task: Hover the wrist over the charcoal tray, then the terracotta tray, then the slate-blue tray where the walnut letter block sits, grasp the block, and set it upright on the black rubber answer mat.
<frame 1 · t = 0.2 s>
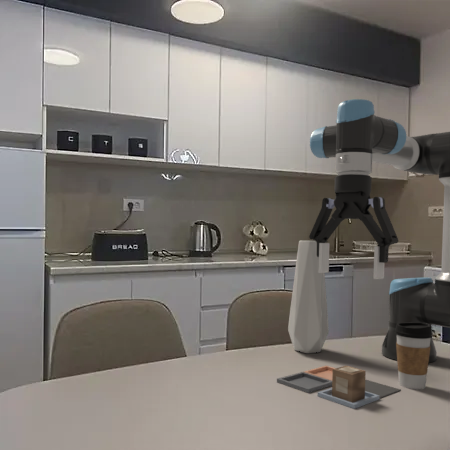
hand: (349, 275, 107), 27 cm above the table, fingers open, 13 cm apart
tray terracotta: (329, 377, 126), on the table
coffee cup: (411, 387, 121), on the table
vase: (306, 351, 152), on the table
tray charcoal: (305, 385, 119), on the table
letter block: (348, 397, 110), resting on tray slate
tray slate: (348, 399, 110), on the table
answer mat: (372, 390, 117), on the table
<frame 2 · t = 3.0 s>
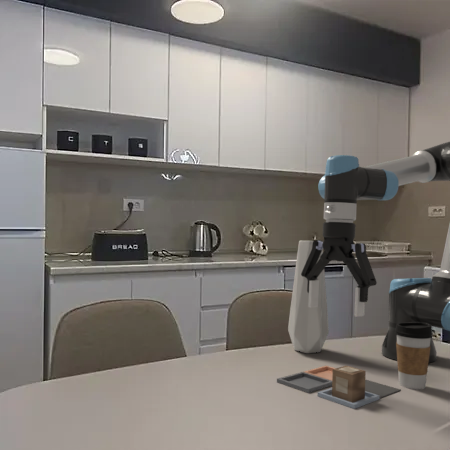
hand: (335, 311, 120), 17 cm above the table, fingers open, 13 cm apart
nothing on the table moved.
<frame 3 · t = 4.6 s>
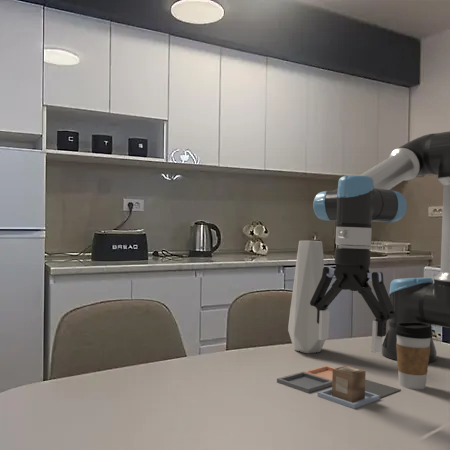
hand: (348, 345, 110), 12 cm above the table, fingers open, 13 cm apart
nothing on the table moved.
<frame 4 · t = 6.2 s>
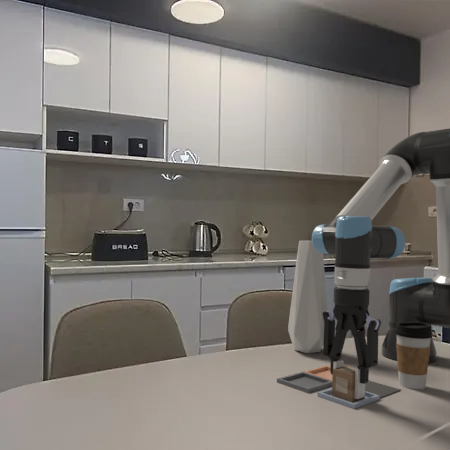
hand: (348, 393, 110), 1 cm above the table, fingers closed on letter block, 5 cm apart
letter block: (348, 397, 110), resting on tray slate, touching gripper
everything else where it was.
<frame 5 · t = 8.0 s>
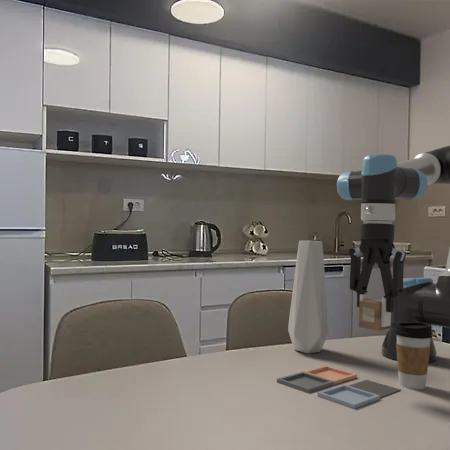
hand: (374, 323, 116), 15 cm above the table, fingers closed on letter block, 5 cm apart
letter block: (374, 327, 116), point 15 cm above the table, touching gripper
everything else where it was.
when the fingers open (4 cm above the table, at t = 10.0 s): letter block drops 2 cm, resting on answer mat.
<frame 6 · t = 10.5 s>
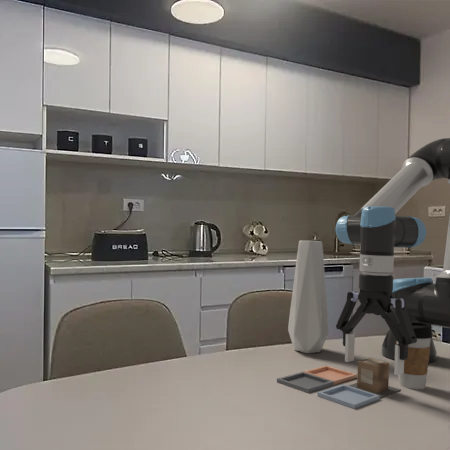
hand: (373, 367, 117), 5 cm above the table, fingers open, 12 cm apart
letter block: (372, 388, 117), point 1 cm above the table, touching answer mat
everything else where it was.
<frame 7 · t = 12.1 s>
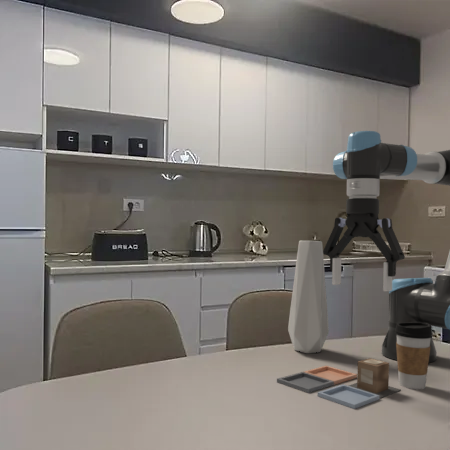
hand: (361, 287, 120), 23 cm above the table, fingers open, 13 cm apart
nothing on the table moved.
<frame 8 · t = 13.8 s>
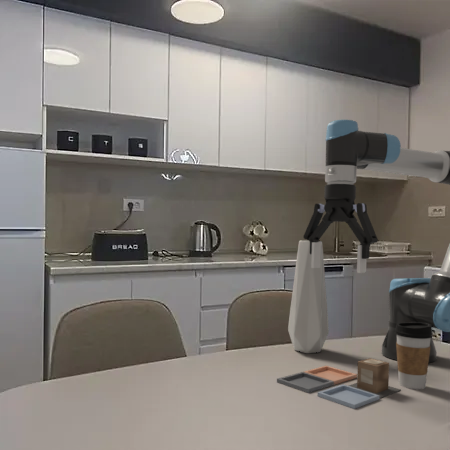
hand: (337, 270, 125), 27 cm above the table, fingers open, 13 cm apart
nothing on the table moved.
at the end: letter block inside the target area on the answer mat (0.0 cm from its centre), point 0.6 cm above the answer mat's base; letter block tilted 0°; the gripper is holding nothing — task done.
